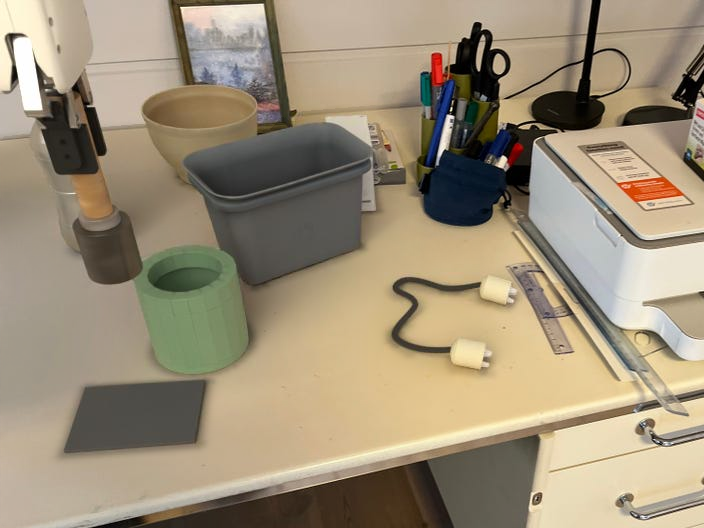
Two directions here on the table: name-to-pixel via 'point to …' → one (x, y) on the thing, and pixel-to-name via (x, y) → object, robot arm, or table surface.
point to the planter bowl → (198, 120)
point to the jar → (193, 308)
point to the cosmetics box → (361, 130)
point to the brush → (102, 225)
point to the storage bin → (283, 197)
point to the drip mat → (136, 416)
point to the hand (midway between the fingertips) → (82, 162)
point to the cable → (461, 349)
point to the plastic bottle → (57, 188)
